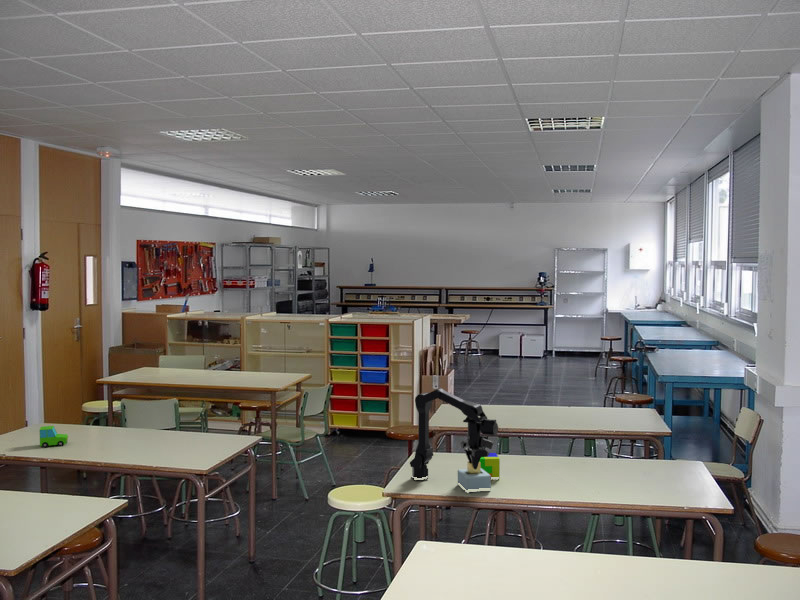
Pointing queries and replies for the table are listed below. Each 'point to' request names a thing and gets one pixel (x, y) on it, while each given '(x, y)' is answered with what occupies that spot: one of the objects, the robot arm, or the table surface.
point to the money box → (474, 479)
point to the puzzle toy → (491, 464)
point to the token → (473, 468)
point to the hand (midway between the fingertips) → (473, 468)
